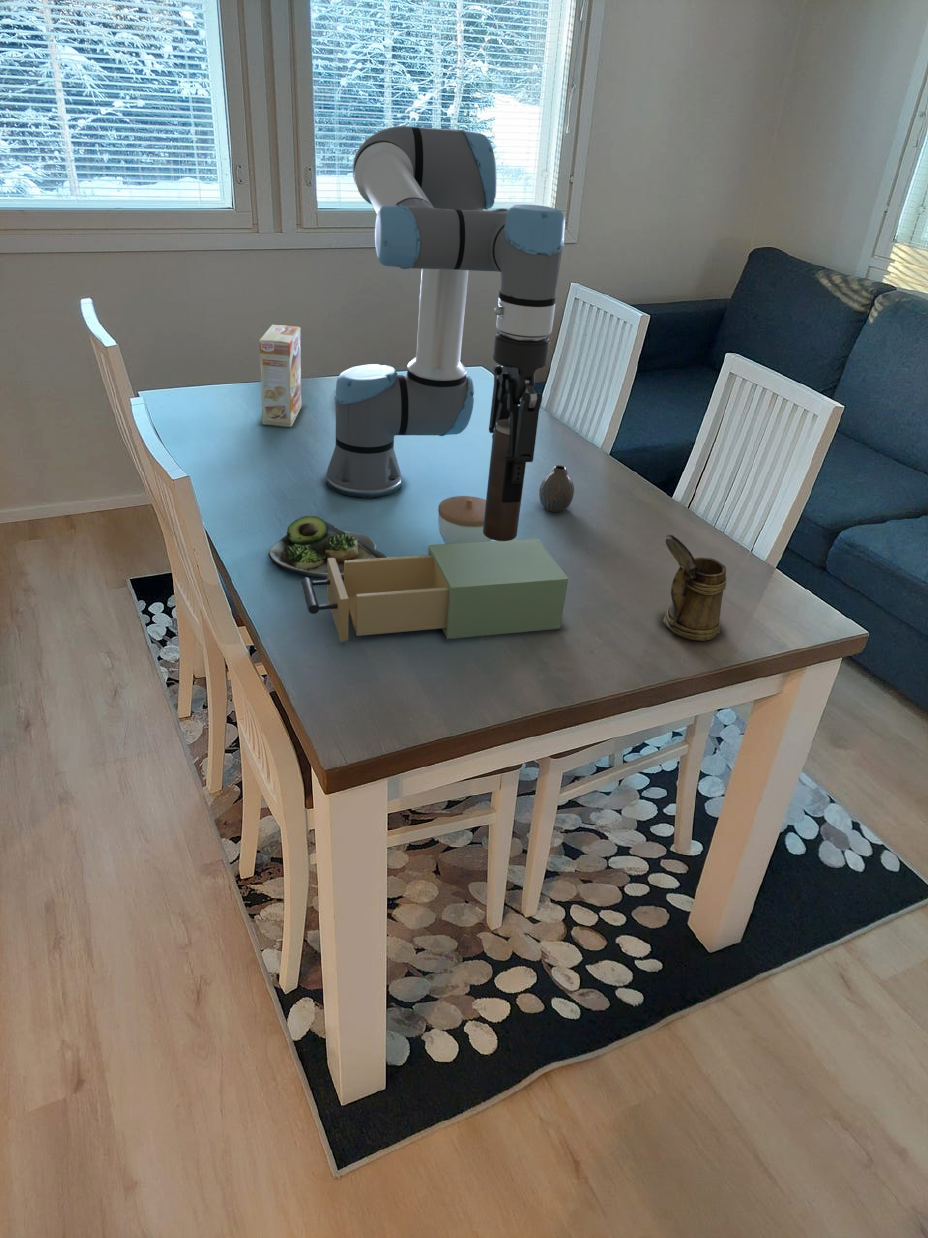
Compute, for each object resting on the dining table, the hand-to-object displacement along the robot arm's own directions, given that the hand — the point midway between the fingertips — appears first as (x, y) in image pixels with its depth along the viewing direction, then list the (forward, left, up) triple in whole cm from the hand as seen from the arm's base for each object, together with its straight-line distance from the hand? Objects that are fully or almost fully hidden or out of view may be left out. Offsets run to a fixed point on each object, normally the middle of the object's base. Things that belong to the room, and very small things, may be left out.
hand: (504, 492), depth 128 cm
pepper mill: (0, 0, -7) cm, 7 cm away
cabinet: (0, 0, -21) cm, 21 cm away
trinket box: (-22, +2, -21) cm, 31 cm away
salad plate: (-22, -24, -21) cm, 39 cm away
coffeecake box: (-93, -23, -21) cm, 98 cm away
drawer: (0, -19, -20) cm, 27 cm away
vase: (-36, +25, -21) cm, 49 cm away
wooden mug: (+10, +29, -21) cm, 37 cm away
